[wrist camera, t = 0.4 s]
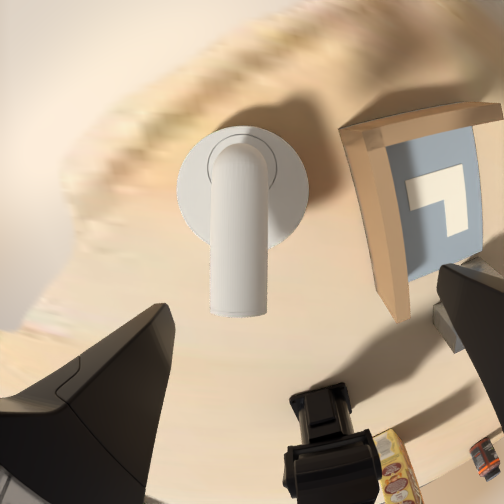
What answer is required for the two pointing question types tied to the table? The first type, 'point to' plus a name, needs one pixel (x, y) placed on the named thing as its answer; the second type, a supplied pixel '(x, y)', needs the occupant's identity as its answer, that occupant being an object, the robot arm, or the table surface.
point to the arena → (418, 192)
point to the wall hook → (241, 210)
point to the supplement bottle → (485, 459)
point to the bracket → (442, 317)
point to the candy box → (396, 471)
